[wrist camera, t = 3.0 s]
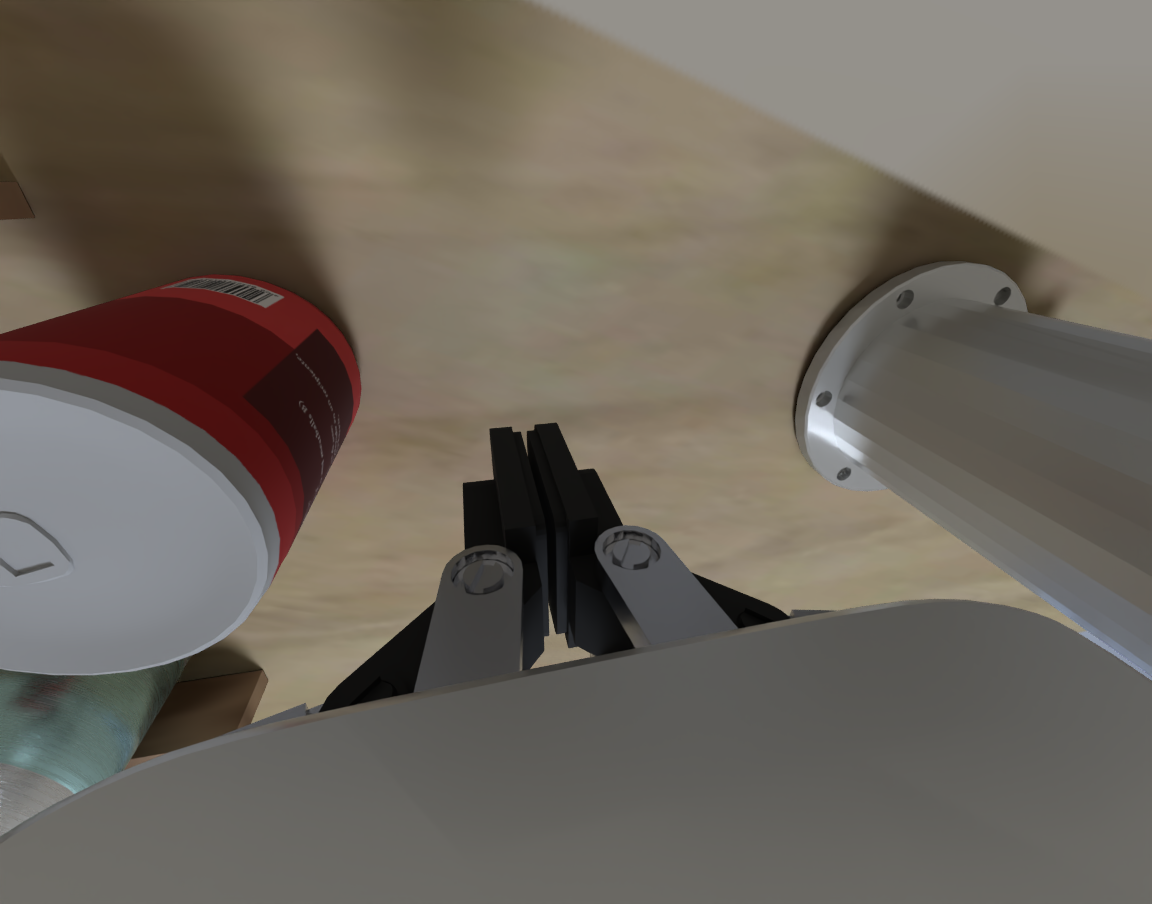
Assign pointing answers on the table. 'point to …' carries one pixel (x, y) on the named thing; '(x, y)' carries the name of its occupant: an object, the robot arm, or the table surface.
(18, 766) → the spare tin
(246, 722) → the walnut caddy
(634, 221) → the table surface
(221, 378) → the canned food
